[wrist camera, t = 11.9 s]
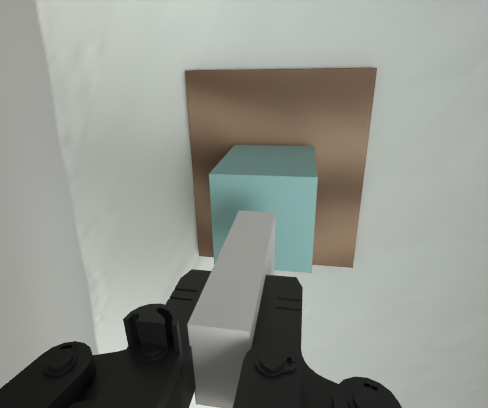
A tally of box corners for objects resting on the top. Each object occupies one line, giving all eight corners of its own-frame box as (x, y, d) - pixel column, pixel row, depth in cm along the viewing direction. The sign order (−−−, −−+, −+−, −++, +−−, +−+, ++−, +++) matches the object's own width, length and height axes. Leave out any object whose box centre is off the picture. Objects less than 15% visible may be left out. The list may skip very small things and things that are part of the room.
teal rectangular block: (234, 144, 23) (208, 173, 17) (314, 146, 22) (317, 177, 16) (236, 216, 25) (214, 265, 19) (309, 220, 24) (311, 272, 18)
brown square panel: (189, 70, 23) (136, 73, 16) (374, 67, 21) (409, 69, 14) (201, 251, 28) (167, 313, 21) (351, 261, 26) (367, 334, 19)
